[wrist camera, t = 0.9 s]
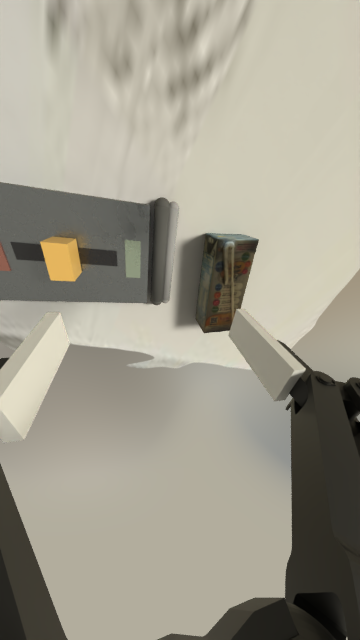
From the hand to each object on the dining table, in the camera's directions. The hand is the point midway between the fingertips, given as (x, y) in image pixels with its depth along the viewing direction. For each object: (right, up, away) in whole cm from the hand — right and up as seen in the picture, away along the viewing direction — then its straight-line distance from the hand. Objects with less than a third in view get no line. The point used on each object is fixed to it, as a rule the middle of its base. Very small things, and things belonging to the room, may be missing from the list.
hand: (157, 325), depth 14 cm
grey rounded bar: (-2, +12, +19) cm, 23 cm away
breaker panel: (-16, +12, +16) cm, 25 cm away
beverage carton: (+10, +9, +25) cm, 28 cm away
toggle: (-15, +10, +13) cm, 22 cm away
